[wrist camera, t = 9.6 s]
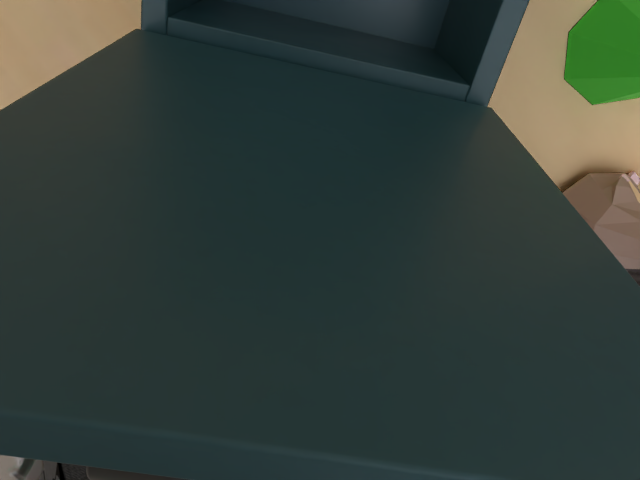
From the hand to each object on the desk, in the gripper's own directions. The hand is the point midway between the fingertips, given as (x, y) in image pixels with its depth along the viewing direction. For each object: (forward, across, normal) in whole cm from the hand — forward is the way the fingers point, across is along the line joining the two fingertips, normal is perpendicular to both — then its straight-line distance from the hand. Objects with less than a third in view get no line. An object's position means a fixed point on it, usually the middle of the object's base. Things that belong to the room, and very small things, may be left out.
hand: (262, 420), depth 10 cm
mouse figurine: (+19, -17, +2) cm, 26 cm away
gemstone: (+20, -15, -7) cm, 26 cm away
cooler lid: (+4, 0, -5) cm, 6 cm away
